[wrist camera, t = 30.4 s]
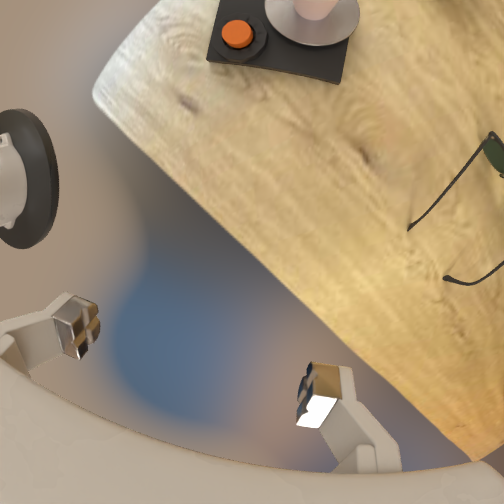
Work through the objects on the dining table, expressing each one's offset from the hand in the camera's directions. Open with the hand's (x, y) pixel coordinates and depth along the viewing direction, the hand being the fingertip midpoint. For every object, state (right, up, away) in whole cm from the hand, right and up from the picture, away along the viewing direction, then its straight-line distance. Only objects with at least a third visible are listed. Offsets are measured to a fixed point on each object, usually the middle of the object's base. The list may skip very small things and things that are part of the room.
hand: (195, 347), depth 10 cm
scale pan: (+8, +29, +13) cm, 33 cm away
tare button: (+1, +26, +15) cm, 30 cm away
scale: (+5, +29, +16) cm, 34 cm away
